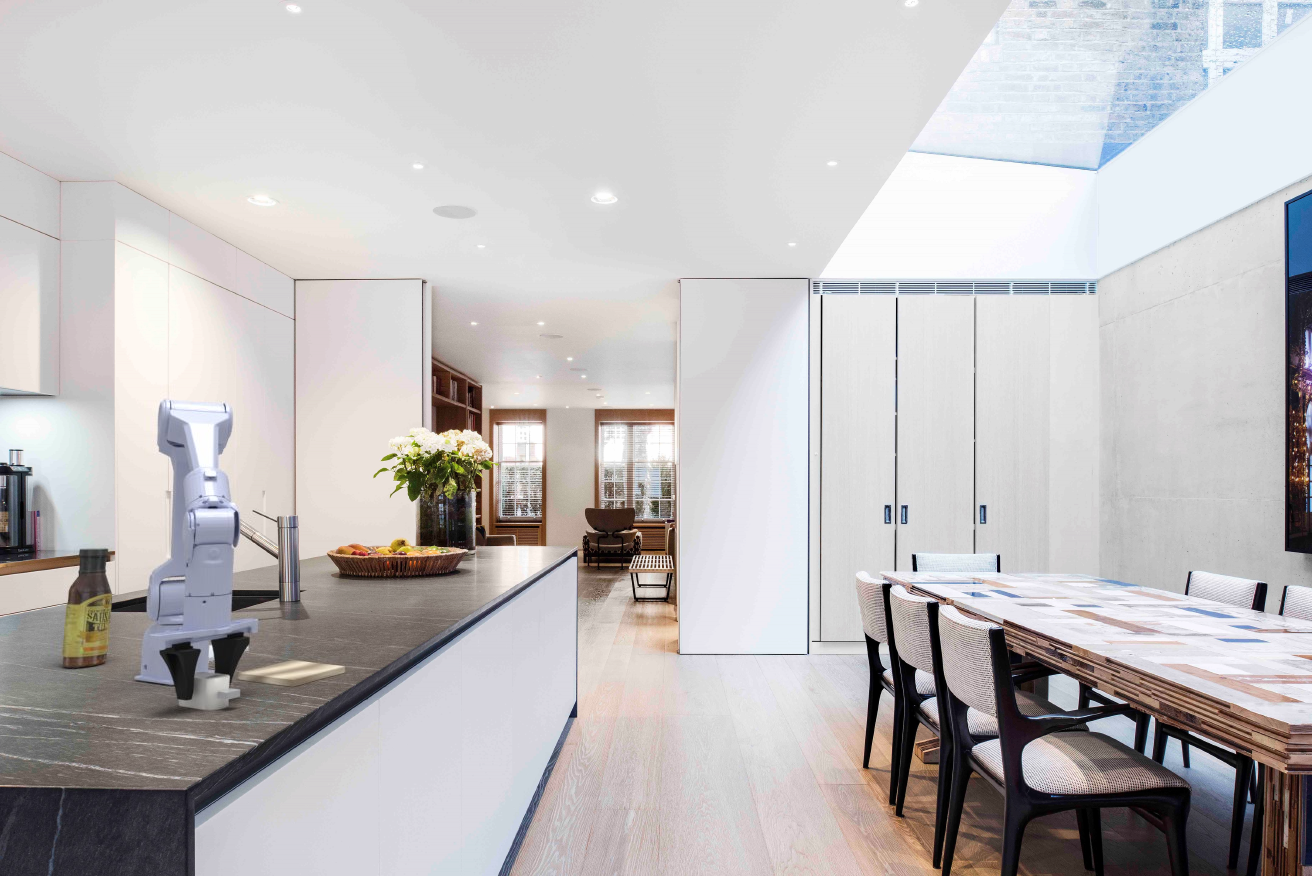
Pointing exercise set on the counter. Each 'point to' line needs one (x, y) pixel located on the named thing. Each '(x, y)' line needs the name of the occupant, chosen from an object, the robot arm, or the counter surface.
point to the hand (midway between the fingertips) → (203, 694)
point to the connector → (210, 691)
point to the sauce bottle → (88, 612)
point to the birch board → (291, 673)
